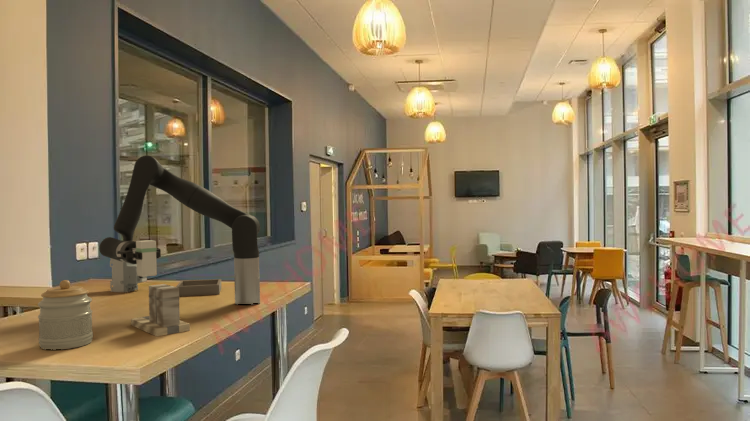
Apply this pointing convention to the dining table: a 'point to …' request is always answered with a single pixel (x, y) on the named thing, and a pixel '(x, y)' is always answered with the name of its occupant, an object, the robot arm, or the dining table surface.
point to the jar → (65, 317)
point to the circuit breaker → (124, 276)
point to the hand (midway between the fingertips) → (149, 255)
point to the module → (146, 258)
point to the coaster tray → (199, 287)
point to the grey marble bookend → (162, 312)
